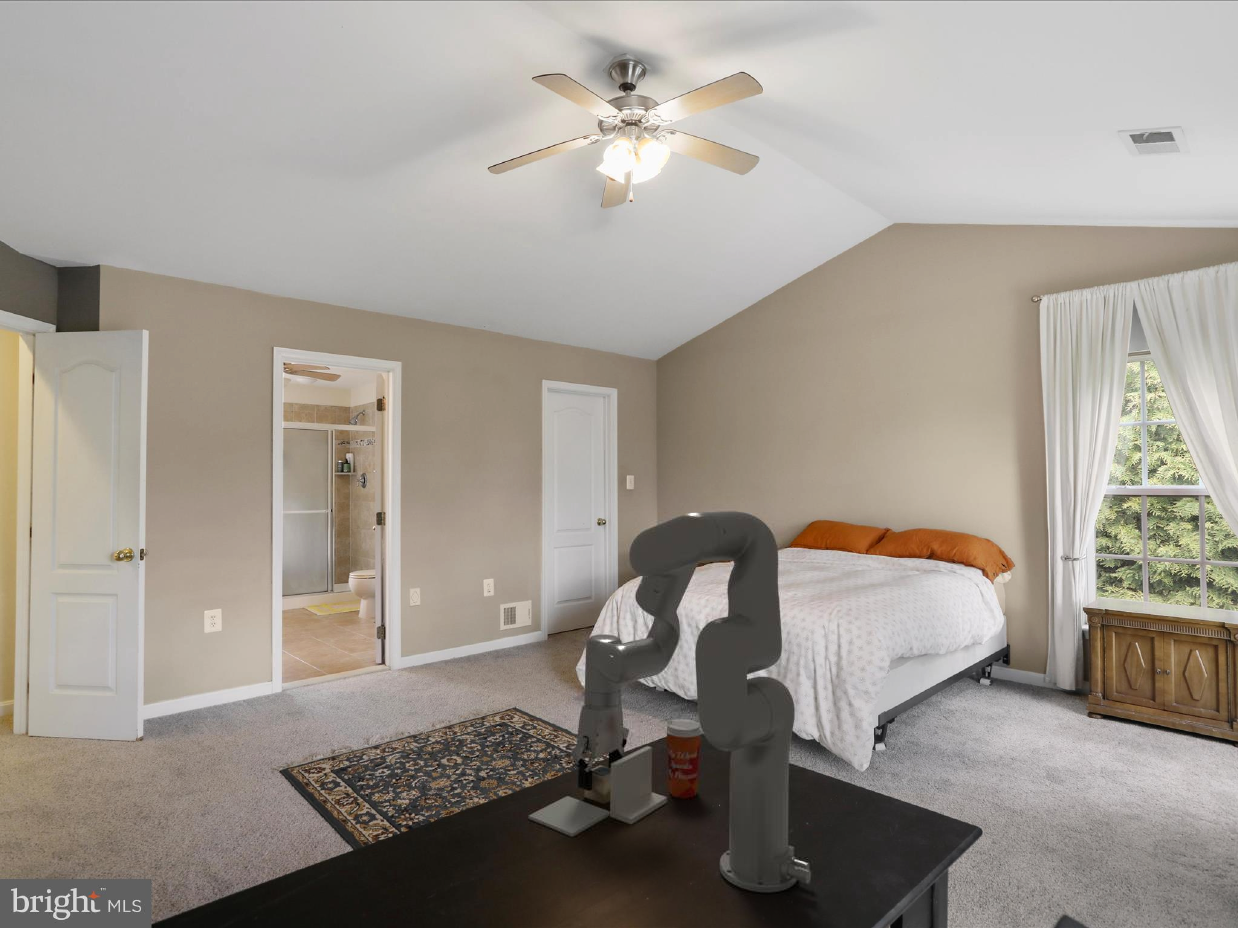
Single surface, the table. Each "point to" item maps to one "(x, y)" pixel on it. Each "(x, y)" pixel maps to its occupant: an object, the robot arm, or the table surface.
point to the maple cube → (600, 785)
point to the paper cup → (683, 756)
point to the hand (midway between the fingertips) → (600, 780)
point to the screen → (633, 787)
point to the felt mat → (569, 816)
